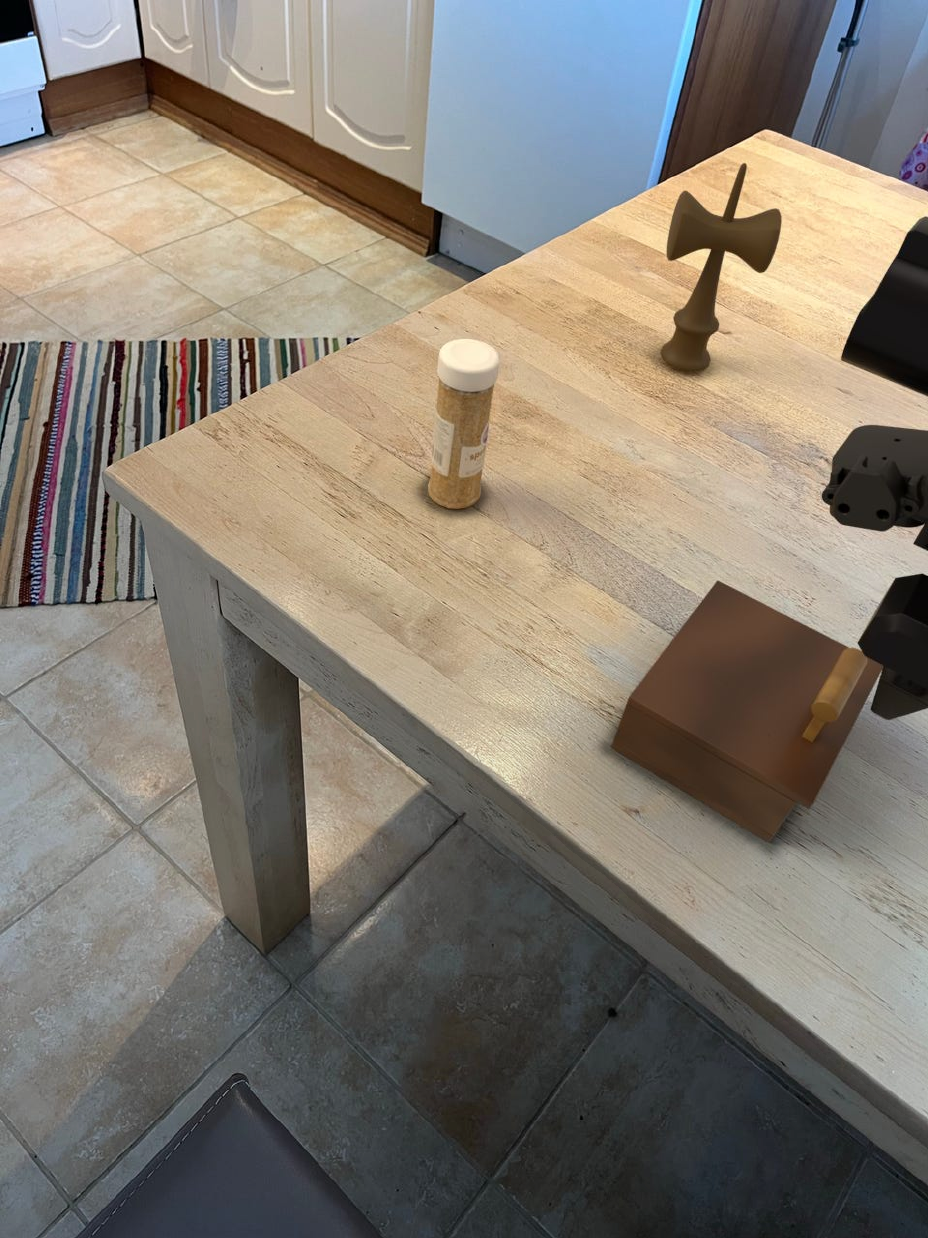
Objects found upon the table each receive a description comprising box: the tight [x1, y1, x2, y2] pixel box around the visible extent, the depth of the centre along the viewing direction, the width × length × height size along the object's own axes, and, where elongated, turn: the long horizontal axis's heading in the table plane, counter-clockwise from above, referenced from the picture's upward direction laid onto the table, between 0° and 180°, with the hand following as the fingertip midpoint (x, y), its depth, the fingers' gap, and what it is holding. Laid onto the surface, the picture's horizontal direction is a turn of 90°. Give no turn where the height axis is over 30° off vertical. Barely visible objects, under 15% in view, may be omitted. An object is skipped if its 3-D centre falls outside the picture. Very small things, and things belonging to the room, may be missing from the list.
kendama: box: [660, 162, 783, 373], centre depth 90 cm, size 6×10×20 cm, turn 81°
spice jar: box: [427, 338, 500, 510], centre depth 75 cm, size 5×5×13 cm
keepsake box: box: [610, 703, 797, 843], centre depth 64 cm, size 12×14×5 cm
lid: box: [626, 580, 883, 810], centre depth 60 cm, size 12×14×4 cm
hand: (904, 663), depth 54 cm, fingers open, 9 cm apart
